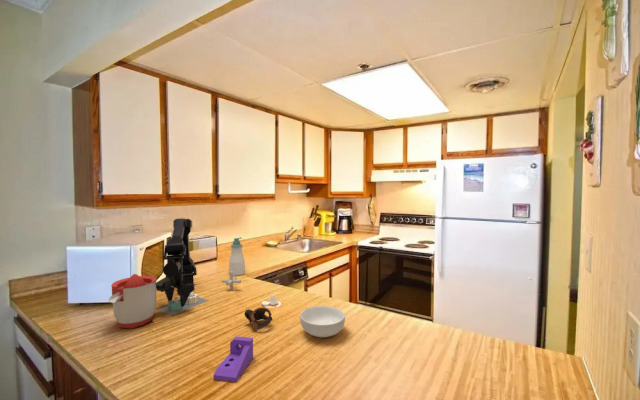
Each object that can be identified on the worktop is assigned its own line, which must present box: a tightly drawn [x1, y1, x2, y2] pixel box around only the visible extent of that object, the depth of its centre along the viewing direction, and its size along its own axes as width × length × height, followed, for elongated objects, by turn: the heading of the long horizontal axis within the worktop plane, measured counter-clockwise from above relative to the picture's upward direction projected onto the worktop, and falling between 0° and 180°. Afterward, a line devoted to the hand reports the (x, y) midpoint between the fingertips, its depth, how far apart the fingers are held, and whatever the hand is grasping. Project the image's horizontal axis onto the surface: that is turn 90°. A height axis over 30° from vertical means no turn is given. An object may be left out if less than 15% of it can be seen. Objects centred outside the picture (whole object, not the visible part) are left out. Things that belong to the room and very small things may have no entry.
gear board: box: [157, 291, 210, 316], centre depth 134 cm, size 11×19×6 cm, turn 150°
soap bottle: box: [228, 236, 246, 277], centre depth 186 cm, size 10×10×23 cm
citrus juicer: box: [108, 273, 157, 329], centre depth 118 cm, size 16×17×20 cm
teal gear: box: [167, 298, 184, 311], centre depth 131 cm, size 6×6×3 cm
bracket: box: [213, 336, 254, 383], centre depth 89 cm, size 12×7×7 cm, turn 169°
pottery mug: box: [244, 306, 274, 332], centre depth 116 cm, size 12×10×8 cm
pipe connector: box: [221, 271, 242, 292], centre depth 157 cm, size 10×10×10 cm
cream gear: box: [185, 293, 200, 305], centre depth 137 cm, size 6×6×3 cm
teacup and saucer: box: [261, 295, 282, 309], centre depth 138 cm, size 9×8×4 cm
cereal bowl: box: [299, 305, 346, 338], centre depth 111 cm, size 17×17×7 cm
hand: (176, 304), depth 131 cm, fingers open, 9 cm apart
